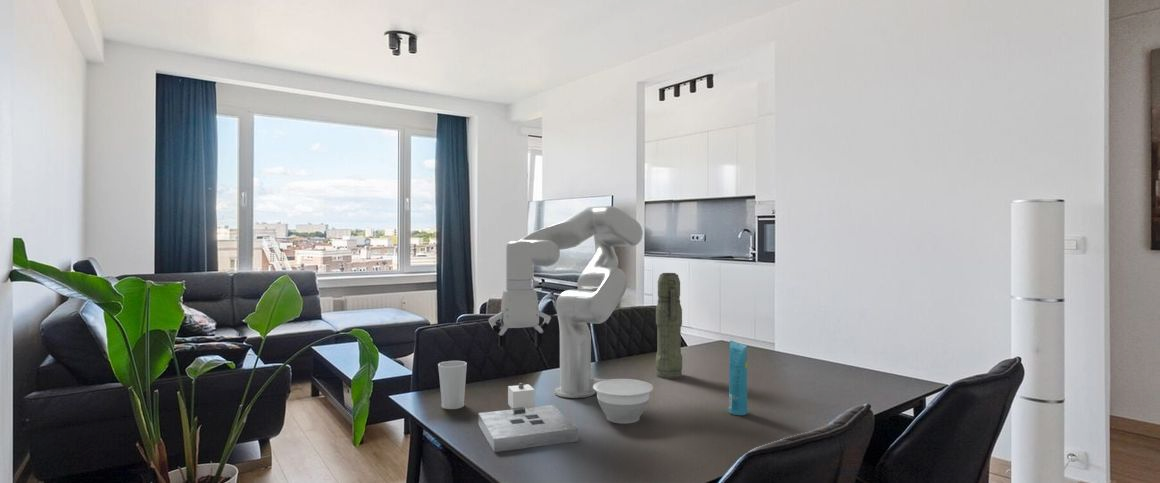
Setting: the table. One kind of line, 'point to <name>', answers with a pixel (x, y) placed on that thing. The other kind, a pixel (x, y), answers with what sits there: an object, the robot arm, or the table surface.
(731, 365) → the tube
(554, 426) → the socket
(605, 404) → the bowl
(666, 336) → the thermos
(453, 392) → the cup
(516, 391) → the plug
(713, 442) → the table surface
